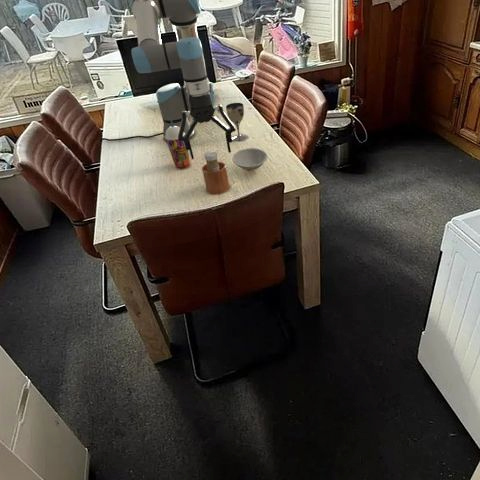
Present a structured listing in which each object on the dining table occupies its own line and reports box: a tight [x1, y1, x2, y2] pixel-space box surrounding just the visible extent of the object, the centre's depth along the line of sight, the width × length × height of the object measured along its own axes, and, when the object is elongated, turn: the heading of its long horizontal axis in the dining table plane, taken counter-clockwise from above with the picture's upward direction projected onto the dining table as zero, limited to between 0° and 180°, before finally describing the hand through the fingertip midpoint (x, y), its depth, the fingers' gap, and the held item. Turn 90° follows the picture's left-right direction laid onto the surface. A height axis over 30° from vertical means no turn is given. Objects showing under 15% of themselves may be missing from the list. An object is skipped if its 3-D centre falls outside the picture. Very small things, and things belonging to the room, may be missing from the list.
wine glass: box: [225, 102, 247, 142], centre depth 180 cm, size 8×8×15 cm
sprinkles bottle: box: [203, 150, 220, 172], centre depth 144 cm, size 5×5×14 cm
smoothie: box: [165, 119, 191, 170], centre depth 160 cm, size 8×8×20 cm
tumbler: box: [201, 161, 230, 195], centre depth 146 cm, size 9×9×9 cm
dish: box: [231, 147, 268, 171], centre depth 158 cm, size 18×14×5 cm
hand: (211, 154), depth 140 cm, fingers open, 13 cm apart
